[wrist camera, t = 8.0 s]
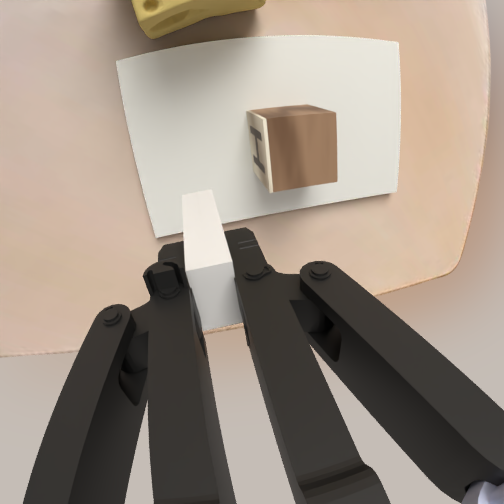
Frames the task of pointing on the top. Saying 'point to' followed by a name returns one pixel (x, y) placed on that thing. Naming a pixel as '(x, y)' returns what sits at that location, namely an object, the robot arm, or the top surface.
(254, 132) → the walnut block
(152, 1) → the cheese
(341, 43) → the cutting board
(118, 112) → the top surface
